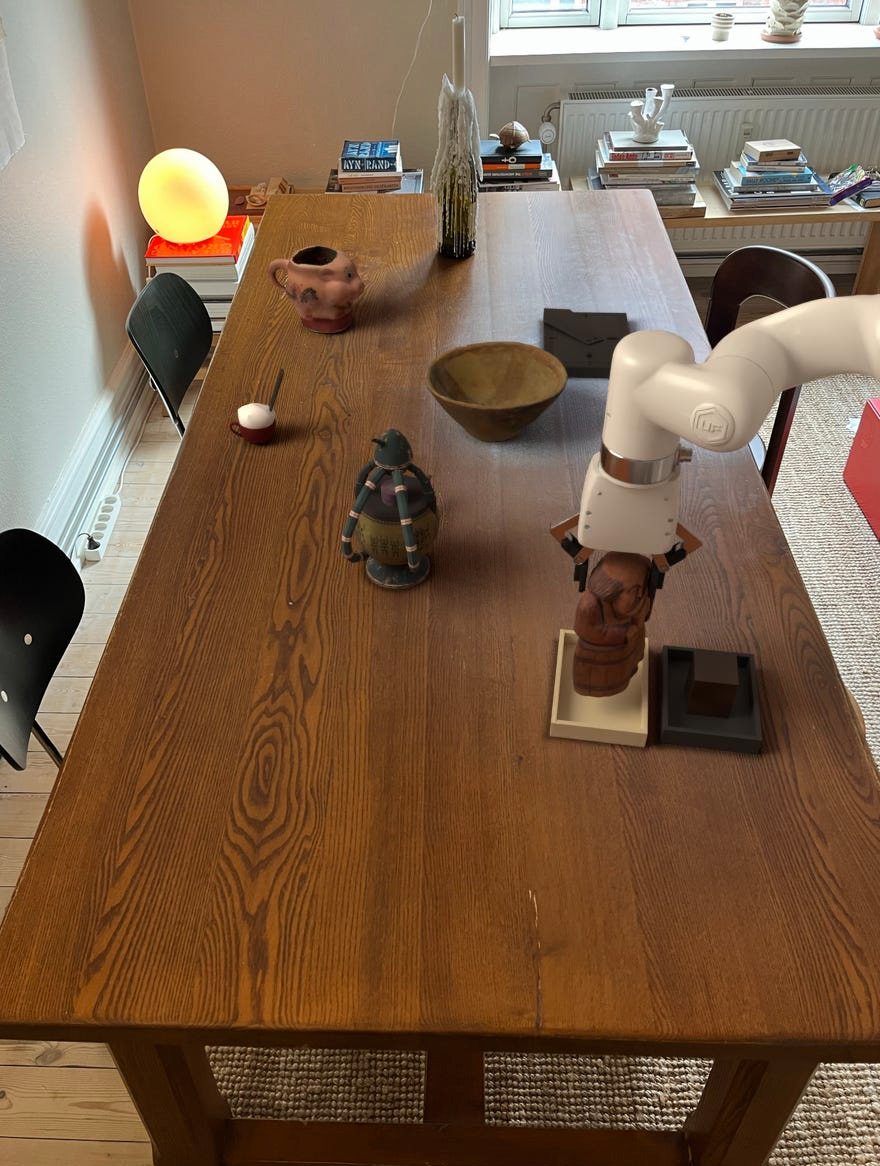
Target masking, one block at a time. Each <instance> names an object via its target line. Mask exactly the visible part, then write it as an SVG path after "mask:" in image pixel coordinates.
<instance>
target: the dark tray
mask: <svg viewBox="0 0 880 1166" xmlns="http://www.w3.org/2000/svg"><path fill="white" fill-rule="evenodd" d="M694 651H704V652H713V653H723V654H733V655H736V656H737V669H738V682H739V686H738V689H737V692H736V696H735V699H734V702H733V706H732V709H731V712H730V715H729V718H719V717H710V716H701V715H692V714H686V688H685V684H686V680H687V676H688V672H689V668H690V664H691V660H692V656H693V652H694ZM755 658H756V657H755V654H754V653H744V652H735V651H726V650H725V651H724V650H715V649H706V648H697V647H696V648H695V647H687V646H679V645H678V646H676V645H668V644H662V648H661V652H660V657H659V721H660V722H659V729H660V730H659V742H660V744H667V745H668V744H669V745H676V746H685V747H694V748H701V749H712V750H721V751H729V752H735V753H736V752H737V753H743V754H753V755H758V754H759V752H760V749H761V745H762V743H763V734H762V721H761V711H760V702H759V701H760V699H759V691H758V680H757V670H756V660H755Z"/></svg>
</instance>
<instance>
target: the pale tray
mask: <svg viewBox="0 0 880 1166" xmlns="http://www.w3.org/2000/svg"><path fill="white" fill-rule="evenodd" d="M578 638H579V637H578V635H577V634H576V633H575V631H574V629H563V628H560V629H559V638H558V639H559V640H558V647H557V649H558V650H557V657H556V658H557V659H556V668H555V679H554V687H553V699H552V708H551V719H550V728H549V737H555V738H563V739H572V740H579V741H586V742H587V741H588V742H596V743H606V744H613V745H621V746H630V747H639V748H645V747H646V743H647V740H648V739H647V738H648V735H649V734H648V730H649V729H648V727H649V726H648V725H649V723H648V722H649V721H648V720H649V637H645V650H644V658H643V660H642V661H640V662H639V663H638V671H637V673H636V674H635V675H634V676H633V677H632V678H631V679H630V682H629V685H628V687H627V688H626V689H625V690H624V691H623V692H621V693H619V694H616V695H613V696H610V697H601V698H597V697H591V696H582V695H579V694H578V693H576V692H575V691H574V687H573V678H572V666H573V657H574V652H575V648H576V645H577V640H578Z"/></svg>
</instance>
